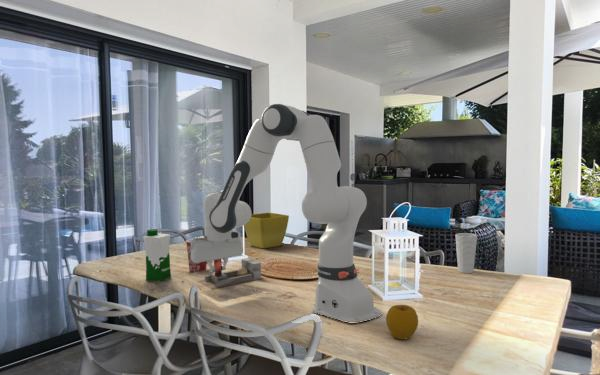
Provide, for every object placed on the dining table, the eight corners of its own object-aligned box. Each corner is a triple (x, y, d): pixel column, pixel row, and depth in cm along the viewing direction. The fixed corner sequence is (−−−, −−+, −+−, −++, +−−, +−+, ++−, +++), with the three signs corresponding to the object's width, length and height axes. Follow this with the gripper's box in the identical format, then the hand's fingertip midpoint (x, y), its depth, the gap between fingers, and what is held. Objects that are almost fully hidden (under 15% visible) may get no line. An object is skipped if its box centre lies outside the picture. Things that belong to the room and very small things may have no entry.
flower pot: (269, 240, 252) (269, 212, 251) (290, 245, 238) (289, 215, 237) (242, 245, 240) (241, 215, 239) (261, 251, 226) (261, 218, 224)
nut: (249, 277, 171) (249, 267, 171) (240, 279, 169) (240, 269, 169) (244, 275, 175) (244, 265, 174) (235, 277, 172) (235, 267, 172)
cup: (455, 273, 178) (455, 236, 176) (454, 268, 186) (454, 232, 185) (477, 275, 175) (478, 237, 174) (475, 269, 183) (476, 233, 182)
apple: (403, 347, 111) (403, 314, 110) (378, 336, 118) (378, 305, 117) (424, 339, 116) (424, 306, 115) (400, 329, 123) (400, 298, 122)
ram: (227, 283, 164) (226, 259, 163) (217, 285, 162) (216, 261, 161) (219, 278, 170) (218, 256, 169) (209, 280, 167) (208, 257, 167)
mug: (182, 271, 188) (181, 240, 187) (199, 266, 195) (198, 237, 194) (201, 276, 181) (200, 243, 180) (218, 271, 188) (217, 240, 187)
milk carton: (156, 275, 183) (154, 228, 181) (174, 276, 180) (172, 228, 179) (142, 280, 175) (140, 231, 173) (161, 282, 172) (159, 232, 170)
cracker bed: (264, 282, 170) (264, 263, 169) (212, 293, 157) (212, 273, 156) (247, 274, 181) (246, 257, 181) (197, 284, 168) (196, 265, 168)
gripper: (193, 239, 156) (195, 277, 157) (244, 232, 168) (245, 267, 169) (187, 236, 161) (188, 273, 162) (236, 230, 173) (237, 264, 174)
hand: (217, 270), depth 165 cm, fingers closed on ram, 3 cm apart
